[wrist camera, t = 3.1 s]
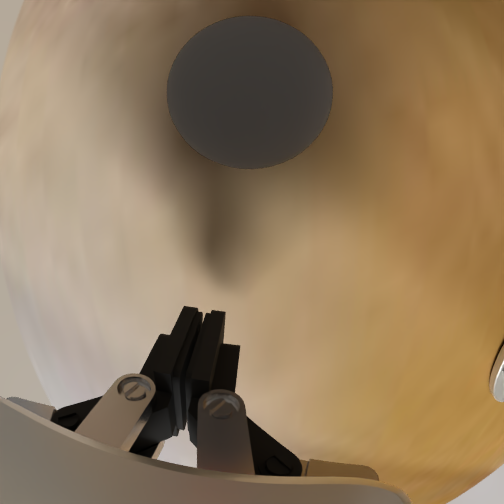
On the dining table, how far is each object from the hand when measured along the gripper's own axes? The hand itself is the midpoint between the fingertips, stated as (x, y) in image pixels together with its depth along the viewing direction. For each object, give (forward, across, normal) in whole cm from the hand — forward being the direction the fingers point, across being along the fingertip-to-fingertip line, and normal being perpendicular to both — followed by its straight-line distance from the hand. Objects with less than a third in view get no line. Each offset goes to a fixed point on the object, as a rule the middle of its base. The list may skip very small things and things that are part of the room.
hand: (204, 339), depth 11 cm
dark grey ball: (0, -1, -10) cm, 10 cm away
